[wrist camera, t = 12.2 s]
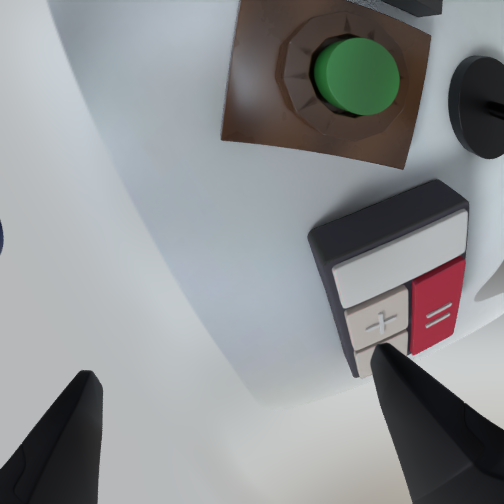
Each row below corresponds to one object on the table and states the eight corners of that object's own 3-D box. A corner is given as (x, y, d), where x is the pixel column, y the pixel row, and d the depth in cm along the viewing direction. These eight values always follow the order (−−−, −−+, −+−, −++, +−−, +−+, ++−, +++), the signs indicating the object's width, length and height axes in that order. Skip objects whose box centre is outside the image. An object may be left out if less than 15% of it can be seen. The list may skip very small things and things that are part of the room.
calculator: (356, 386, 25) (325, 272, 17) (342, 350, 29) (304, 231, 20) (457, 336, 24) (477, 204, 16) (437, 306, 28) (440, 177, 19)
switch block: (220, 134, 17) (221, 148, 14) (242, -14, 12) (248, -34, 9) (390, 161, 18) (419, 180, 15) (416, 36, 14) (450, 35, 11)
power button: (307, 101, 13) (319, 105, 12) (319, 32, 11) (333, 27, 10) (374, 117, 14) (391, 123, 12) (386, 53, 12) (405, 52, 10)
